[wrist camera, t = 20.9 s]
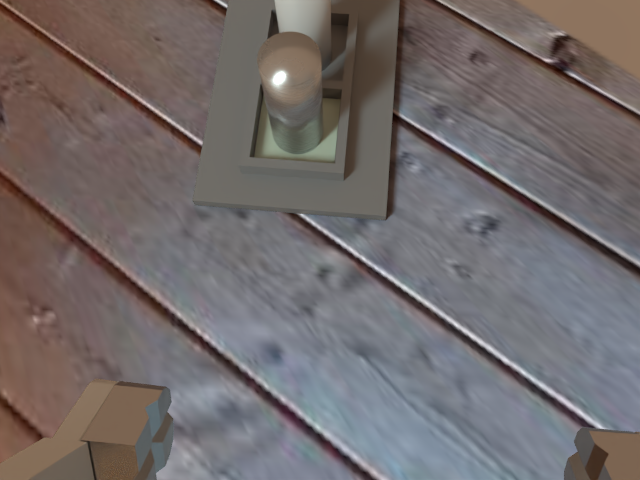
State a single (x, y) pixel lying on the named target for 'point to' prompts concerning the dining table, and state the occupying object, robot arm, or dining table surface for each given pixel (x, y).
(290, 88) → the cylinder
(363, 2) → the grey holder tray
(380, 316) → the dining table surface
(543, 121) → the dining table surface
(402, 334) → the dining table surface
